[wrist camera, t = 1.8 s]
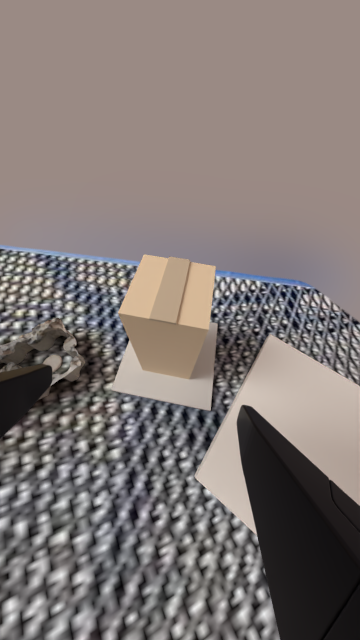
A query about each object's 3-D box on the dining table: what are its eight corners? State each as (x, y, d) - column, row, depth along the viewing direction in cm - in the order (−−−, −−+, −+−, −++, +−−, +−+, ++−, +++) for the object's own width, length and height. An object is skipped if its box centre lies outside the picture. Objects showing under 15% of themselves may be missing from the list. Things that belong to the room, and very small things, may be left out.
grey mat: (209, 411, 20) (210, 410, 19) (112, 390, 20) (111, 390, 20) (216, 325, 25) (217, 323, 25) (141, 311, 26) (140, 309, 25)
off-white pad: (356, 626, 13) (370, 640, 12) (194, 475, 17) (195, 478, 16) (379, 404, 21) (388, 402, 20) (266, 337, 25) (270, 334, 24)
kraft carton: (189, 379, 21) (209, 329, 10) (142, 370, 21) (117, 312, 11) (195, 337, 24) (216, 264, 13) (154, 329, 24) (144, 252, 14)
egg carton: (76, 330, 24) (61, 313, 21) (92, 377, 21) (78, 367, 18) (-16, 367, 21) (-51, 355, 18) (-14, 431, 18) (-56, 430, 14)
